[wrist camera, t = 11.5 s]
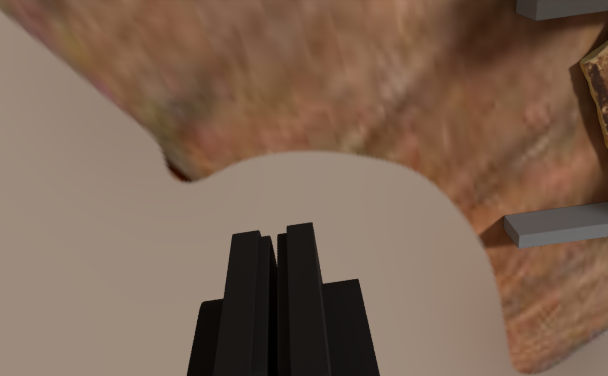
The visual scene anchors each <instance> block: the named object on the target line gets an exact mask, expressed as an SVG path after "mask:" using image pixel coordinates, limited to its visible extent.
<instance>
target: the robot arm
mask: <svg viewBox="0 0 608 376" xmlns="http://www.w3.org/2000/svg"><path fill="white" fill-rule="evenodd" d="M277 249H278V250H277V252H278V253H277V255H278V256H277V264H276V259H275V254H274V250H273V245H272V241H271V237H270V236H263V237H261V234H260V231H259V230H257V231H251V232H244V233H237V234H233V235H232V241H231V248H230V255H229V263H228V270H227V277H226V284H225V292H224V299H218V300H211V301H204V302H203V303H202V304H201V306H200V310H199V315H198V320H197V325H196V331H195V336H194V340H193V346H192V351H191V357H190V361H189V366H188V372H187V376H380V374H379V370H378V365H377V361H376V356H375V351H374V347H373V342H372V338H371V333H370V329H369V324H368V320H367V315H366V311H365V306H364V302H363V297H362V293H361V288H360V284H359V280H358V279H352V280H346V281H340V282H332V283H325V284H323V282H322V276H321V270H320V265H319V258H318V253H317V246H316V241H315V235H314V229H313V223H312V222H311V223H303V224H296V225H290V226H287V233H283V234H278V236H277Z"/></svg>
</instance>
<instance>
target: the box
mask: <svg viewBox="0 0 608 376" xmlns="http://www.w3.org/2000/svg"><path fill="white" fill-rule="evenodd" d="M601 11H608V0H517V5H516V13H517V14H520V15H522V16H525V17H527V18H530V19H532V20H535V21H539V20H546V19H553V18H560V17H567V16H574V15H581V14H587V13H594V12H601ZM504 229H505V231H506V232H507V233H508V235H509V236H510V238H511V239H512V240H513V242H514V243H515V244H516V246H517V247H518V248H527V247H534V246H541V245H549V244H556V243H563V242H571V241H578V240H586V239H593V238H600V237H608V202H600V203H593V204H586V205H578V206H571V207H564V208H557V209H549V210H542V211H535V212H527V213H520V214H513V215H506V216H504Z"/></svg>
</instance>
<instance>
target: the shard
mask: <svg viewBox="0 0 608 376" xmlns="http://www.w3.org/2000/svg"><path fill="white" fill-rule="evenodd" d="M580 66H581V69H582V71H583V73H584V75H585V77H586V79H587V81H588V84H589V87H590V93H591V95H592V97H593V99H594V101H595V103H596V106H597V114H598V118H599V122H600V126H601V130H602V133H603V135H604V141H605V144H606V147H607V149H608V40H607V41H606V42H605V43H604V44H602V45H601V46H600V47H598V48H597V49H595V50H594V51H592V52H591V53H590V54H588V55H587V56H585V57H584V58H583V59H581V60H580Z"/></svg>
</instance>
